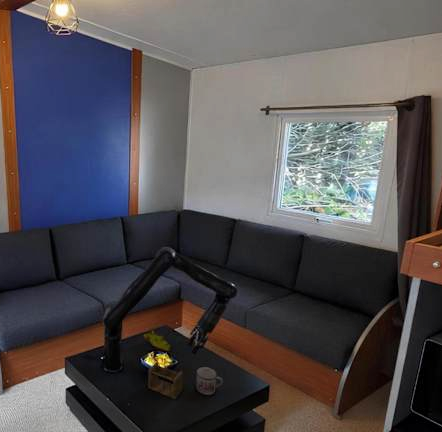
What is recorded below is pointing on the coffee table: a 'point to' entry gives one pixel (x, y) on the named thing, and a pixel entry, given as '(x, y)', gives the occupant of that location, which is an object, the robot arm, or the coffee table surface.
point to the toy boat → (157, 341)
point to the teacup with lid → (207, 381)
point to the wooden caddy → (161, 385)
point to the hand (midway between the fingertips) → (190, 349)
